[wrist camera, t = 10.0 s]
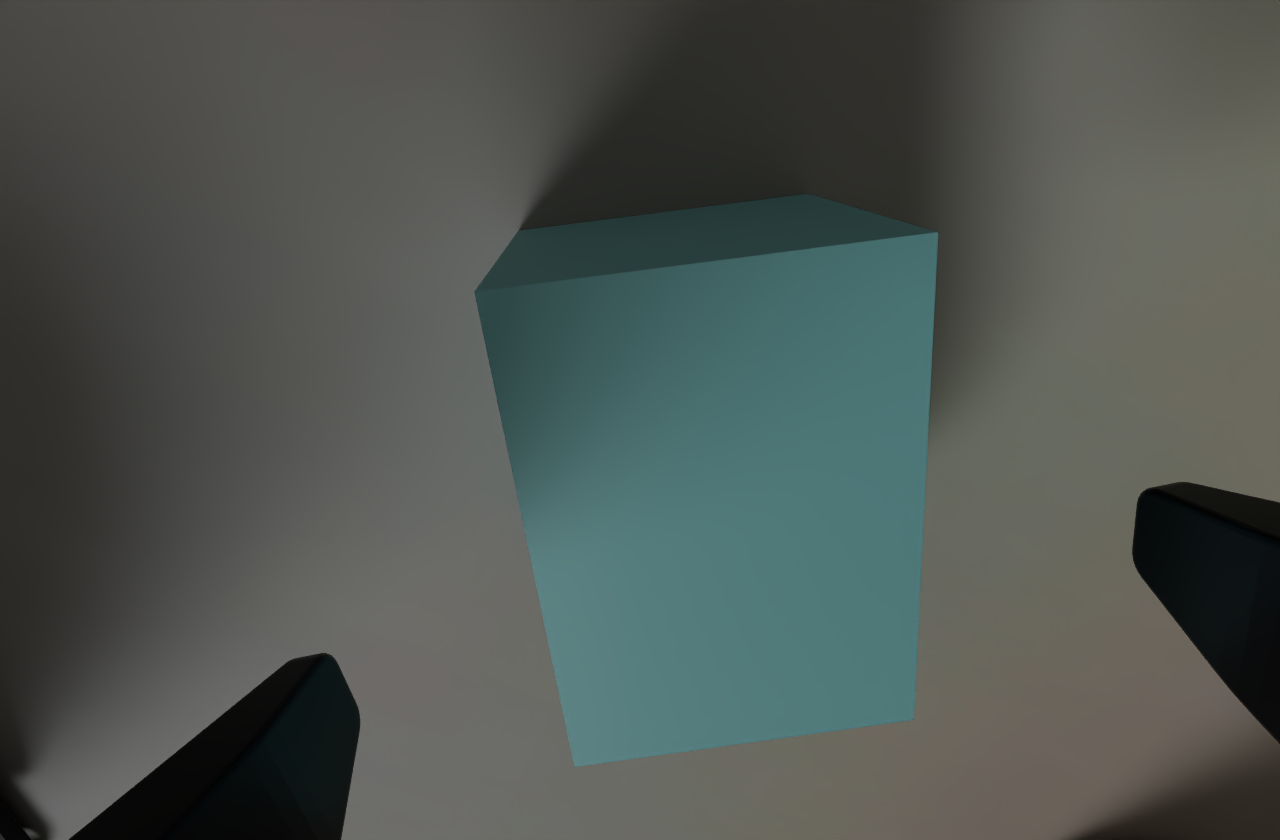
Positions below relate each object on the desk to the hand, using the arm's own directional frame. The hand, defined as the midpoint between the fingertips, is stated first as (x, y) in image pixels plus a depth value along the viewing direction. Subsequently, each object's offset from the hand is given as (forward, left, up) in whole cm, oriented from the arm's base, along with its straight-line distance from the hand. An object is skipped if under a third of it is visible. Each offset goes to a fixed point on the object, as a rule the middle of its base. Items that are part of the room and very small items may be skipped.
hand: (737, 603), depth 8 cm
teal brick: (0, 0, -6) cm, 6 cm away
